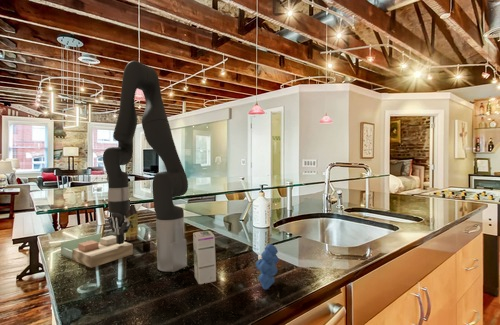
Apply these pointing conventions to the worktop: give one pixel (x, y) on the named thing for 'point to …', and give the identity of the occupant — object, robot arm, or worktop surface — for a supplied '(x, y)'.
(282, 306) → the worktop surface
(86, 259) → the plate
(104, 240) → the white tile
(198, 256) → the syrup box
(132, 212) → the sauce bottle
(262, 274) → the grapes
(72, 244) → the box
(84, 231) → the worktop surface
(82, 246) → the terracotta tile
